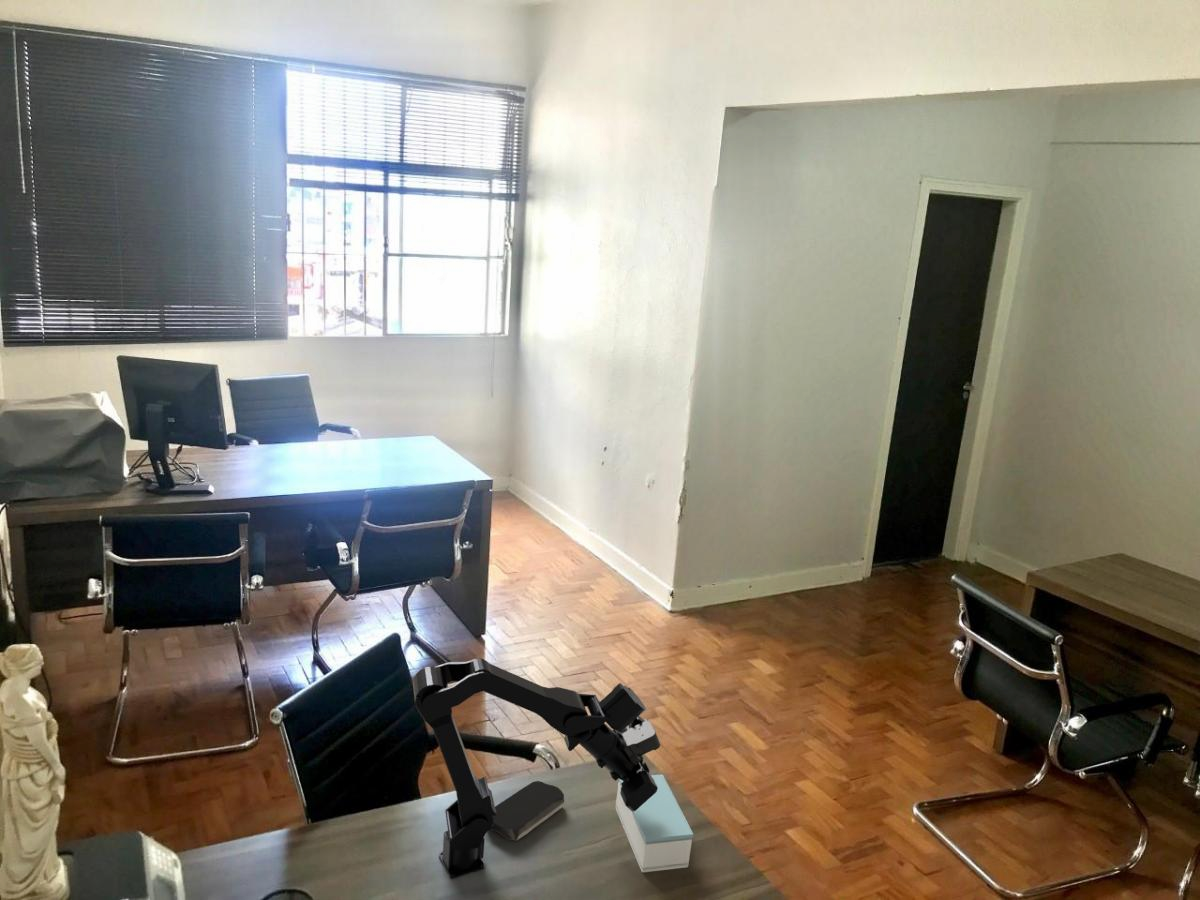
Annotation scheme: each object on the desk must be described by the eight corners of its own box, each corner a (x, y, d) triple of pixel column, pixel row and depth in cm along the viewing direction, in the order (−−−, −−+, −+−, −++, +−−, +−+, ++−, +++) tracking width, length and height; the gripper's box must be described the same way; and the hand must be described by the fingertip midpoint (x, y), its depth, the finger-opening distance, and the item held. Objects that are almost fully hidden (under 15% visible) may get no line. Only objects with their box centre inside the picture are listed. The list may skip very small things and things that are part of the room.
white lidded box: (642, 872, 163) (645, 844, 161) (615, 808, 180) (618, 782, 178) (688, 867, 165) (691, 839, 164) (657, 804, 182) (660, 778, 180)
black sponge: (511, 849, 166) (512, 833, 165) (479, 828, 171) (480, 811, 170) (567, 809, 179) (569, 793, 178) (536, 789, 183) (537, 774, 182)
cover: (645, 842, 161) (645, 838, 161) (618, 781, 178) (619, 777, 178) (692, 837, 164) (693, 834, 164) (662, 777, 180) (662, 774, 180)
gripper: (652, 744, 153) (704, 793, 159) (622, 687, 170) (670, 733, 176) (603, 787, 153) (657, 835, 159) (578, 726, 170) (628, 771, 176)
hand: (654, 790), depth 168 cm, fingers closed
